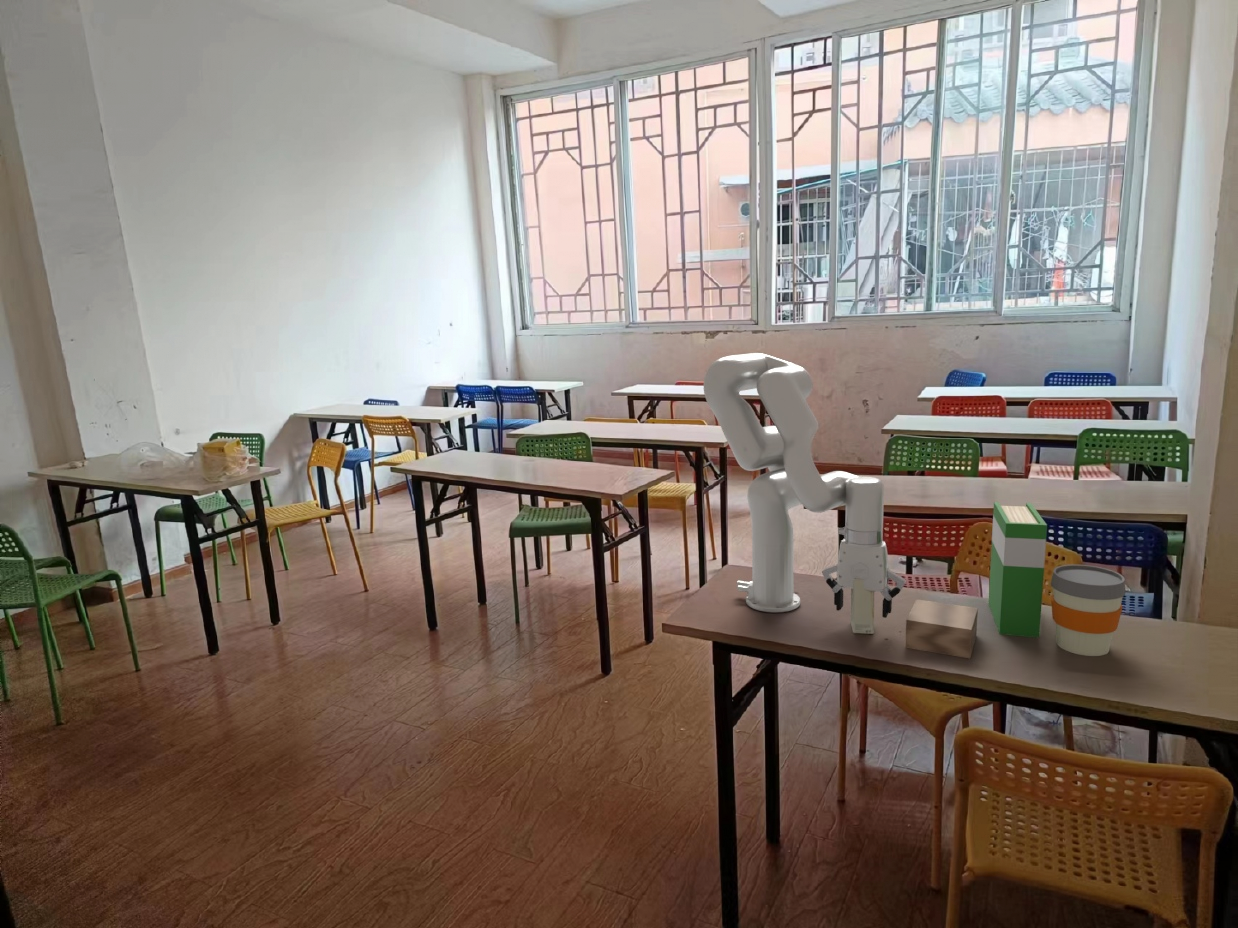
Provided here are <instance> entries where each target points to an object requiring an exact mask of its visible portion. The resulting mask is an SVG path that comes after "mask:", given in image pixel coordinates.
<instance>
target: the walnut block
mask: <svg viewBox="0 0 1238 928" xmlns="http://www.w3.org/2000/svg"><path fill="white" fill-rule="evenodd" d="M978 611H979V608H978V607H974V606H973V607H972V606H966V605H959V604H952V603H945V602H937V601H931V600H923V599H918V598H917V599H915V601H914V603H913V606H912V608H911V609H910V612H909V614H908V616H907V617H906V621H905V648H907V649H912V650H918V651H925V652H929V653H936V654H941V655H946V656H947V655H948V656H953V657H958V658H964V659H969V660H970V659H971V656H972V652H973V649H974V645H975V642H976V638H977V635H978V633H977V631H978V629H977V628H978Z"/></svg>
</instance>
